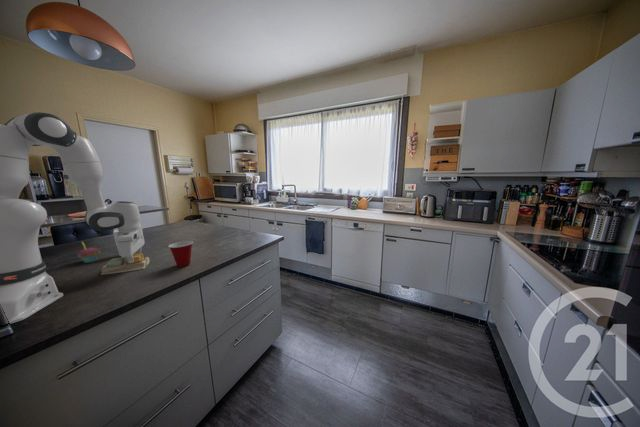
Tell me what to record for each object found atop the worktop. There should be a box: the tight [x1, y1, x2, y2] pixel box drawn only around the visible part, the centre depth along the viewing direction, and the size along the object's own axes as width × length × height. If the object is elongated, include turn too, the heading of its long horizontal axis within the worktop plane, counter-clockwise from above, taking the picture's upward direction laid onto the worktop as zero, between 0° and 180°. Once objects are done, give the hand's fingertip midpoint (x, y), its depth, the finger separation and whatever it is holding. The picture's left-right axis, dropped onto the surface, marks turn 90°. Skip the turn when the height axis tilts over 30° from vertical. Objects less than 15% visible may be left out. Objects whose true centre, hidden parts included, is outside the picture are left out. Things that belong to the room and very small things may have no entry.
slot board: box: [100, 256, 151, 276], centre depth 106 cm, size 10×16×5 cm, turn 114°
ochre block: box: [126, 252, 144, 264], centre depth 107 cm, size 5×5×5 cm
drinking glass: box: [112, 229, 120, 256], centre depth 121 cm, size 7×7×15 cm
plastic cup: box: [168, 240, 194, 268], centre depth 109 cm, size 11×11×12 cm
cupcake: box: [76, 241, 101, 263], centre depth 113 cm, size 9×8×12 cm
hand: (135, 259), depth 107 cm, fingers open, 8 cm apart
